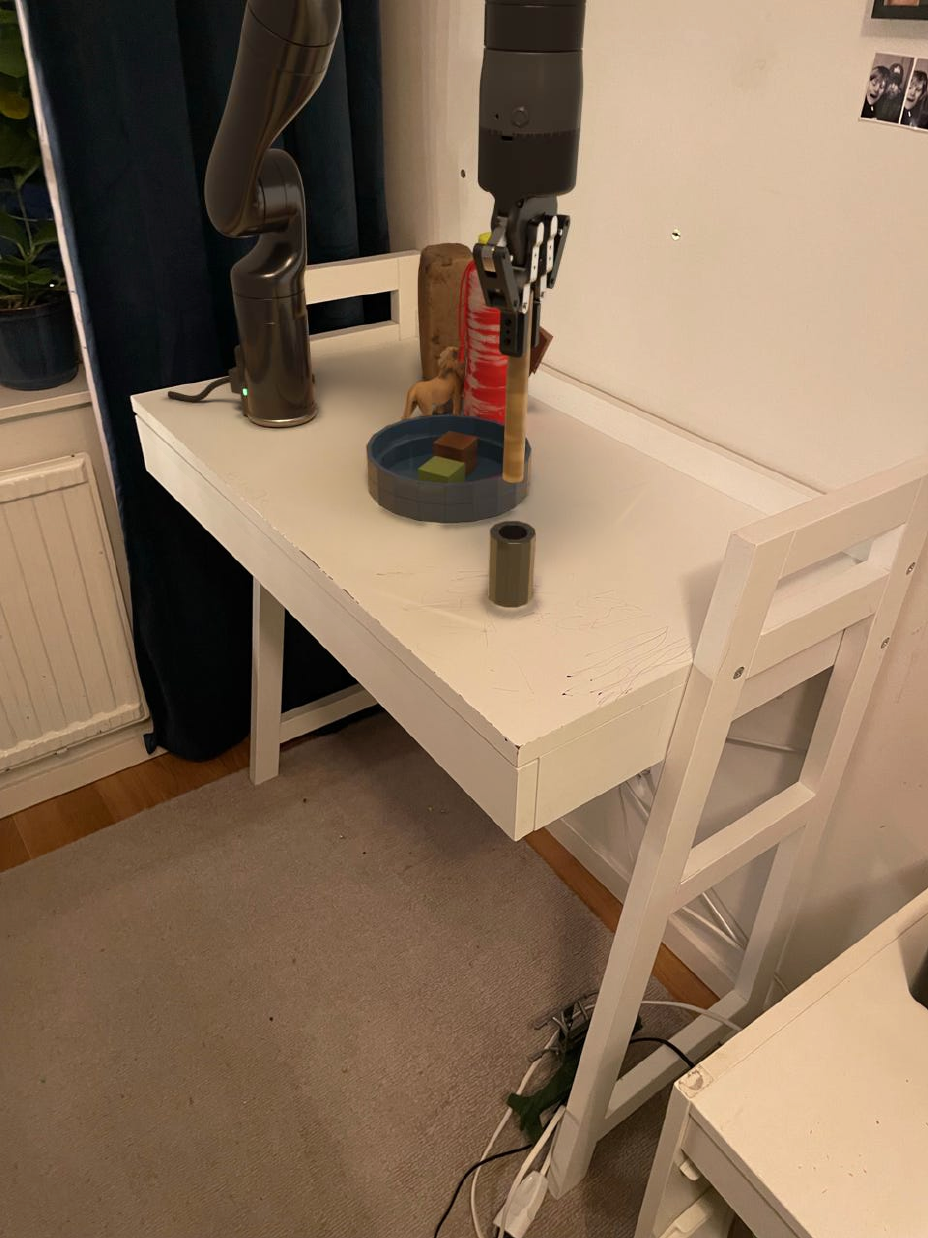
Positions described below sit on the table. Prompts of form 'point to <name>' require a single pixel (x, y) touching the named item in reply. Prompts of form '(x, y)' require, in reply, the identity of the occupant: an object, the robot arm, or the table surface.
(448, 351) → the lion figurine
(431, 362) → the block
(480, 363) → the water bottle
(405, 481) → the bowl
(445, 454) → the walnut block
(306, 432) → the table surface
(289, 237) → the robot arm
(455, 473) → the olive block
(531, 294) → the stirring stick
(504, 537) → the holder
